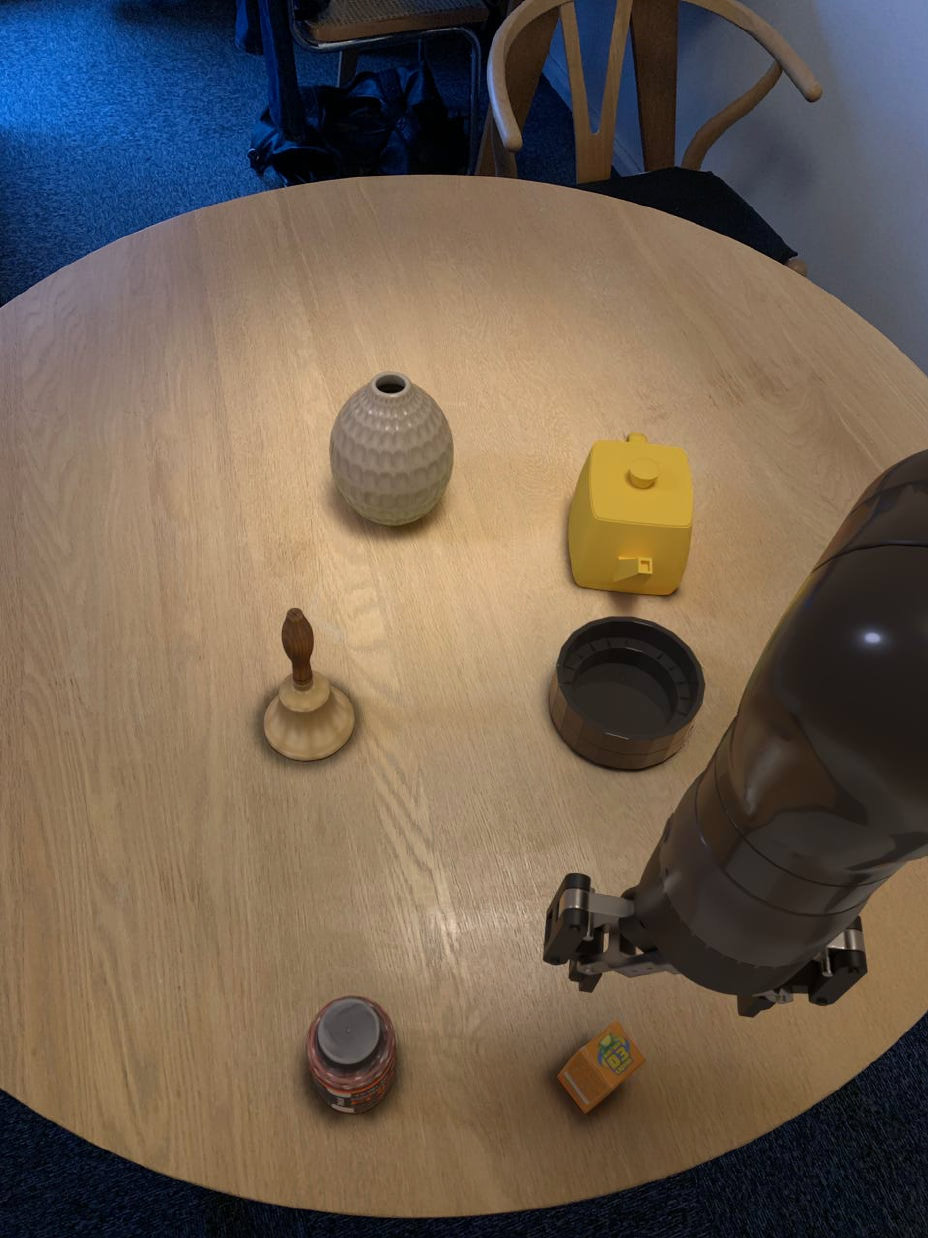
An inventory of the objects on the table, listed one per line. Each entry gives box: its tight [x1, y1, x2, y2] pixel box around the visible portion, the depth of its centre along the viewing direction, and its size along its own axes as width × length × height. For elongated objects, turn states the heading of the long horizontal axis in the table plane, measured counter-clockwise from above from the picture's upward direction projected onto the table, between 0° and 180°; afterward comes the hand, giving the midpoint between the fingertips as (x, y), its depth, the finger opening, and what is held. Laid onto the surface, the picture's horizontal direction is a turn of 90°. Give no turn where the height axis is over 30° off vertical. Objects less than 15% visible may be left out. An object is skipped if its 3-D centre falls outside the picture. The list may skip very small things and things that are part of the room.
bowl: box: [548, 615, 706, 769], centre depth 85 cm, size 13×13×6 cm
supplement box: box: [557, 1020, 647, 1114], centre depth 64 cm, size 3×3×10 cm
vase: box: [328, 371, 455, 527], centre depth 96 cm, size 13×13×17 cm
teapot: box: [568, 432, 694, 596], centre depth 95 cm, size 20×12×12 cm, turn 175°
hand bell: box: [262, 607, 356, 762], centre depth 79 cm, size 8×8×16 cm
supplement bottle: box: [305, 994, 398, 1115], centre depth 64 cm, size 6×6×11 cm
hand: (664, 985), depth 50 cm, fingers open, 8 cm apart
